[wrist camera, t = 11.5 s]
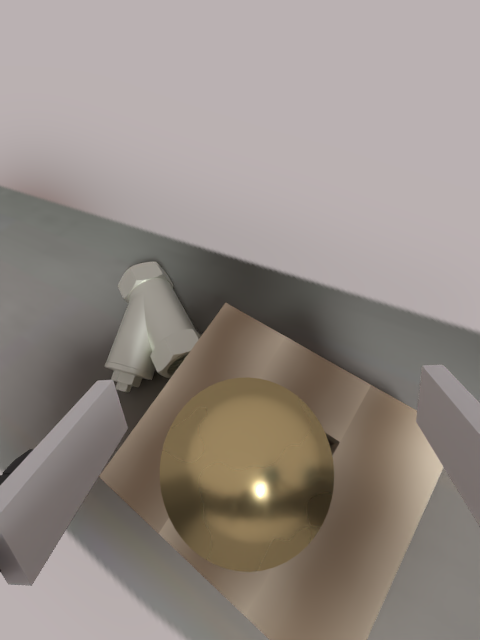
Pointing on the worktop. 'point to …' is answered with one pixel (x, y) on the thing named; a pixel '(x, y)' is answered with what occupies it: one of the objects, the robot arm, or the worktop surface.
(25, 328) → the worktop surface
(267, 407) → the gold-capped peg
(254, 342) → the socket block
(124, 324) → the pipe fitting
